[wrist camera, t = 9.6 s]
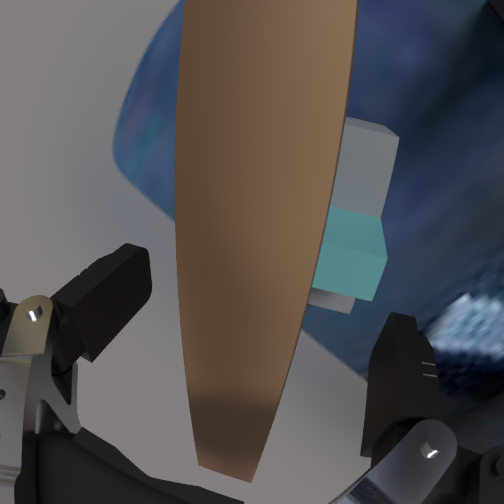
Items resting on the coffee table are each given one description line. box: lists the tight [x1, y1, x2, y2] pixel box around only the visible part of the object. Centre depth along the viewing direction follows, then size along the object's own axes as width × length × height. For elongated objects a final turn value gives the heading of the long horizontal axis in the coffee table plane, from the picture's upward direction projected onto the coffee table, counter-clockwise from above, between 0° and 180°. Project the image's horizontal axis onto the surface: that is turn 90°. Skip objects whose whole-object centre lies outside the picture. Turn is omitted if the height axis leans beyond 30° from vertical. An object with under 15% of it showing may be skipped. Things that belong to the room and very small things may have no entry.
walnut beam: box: [175, 0, 359, 483], centre depth 10 cm, size 3×22×5 cm, turn 175°
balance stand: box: [308, 117, 399, 314], centre depth 16 cm, size 8×10×11 cm
